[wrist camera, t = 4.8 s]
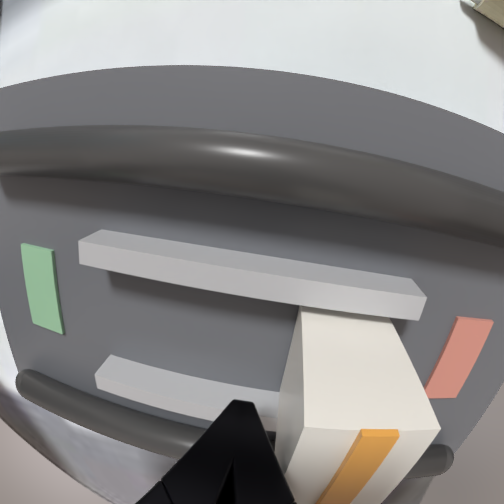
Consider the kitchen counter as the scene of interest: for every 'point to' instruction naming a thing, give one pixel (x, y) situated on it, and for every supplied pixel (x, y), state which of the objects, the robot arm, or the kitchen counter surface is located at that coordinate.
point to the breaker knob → (349, 409)
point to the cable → (491, 10)
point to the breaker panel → (240, 243)
